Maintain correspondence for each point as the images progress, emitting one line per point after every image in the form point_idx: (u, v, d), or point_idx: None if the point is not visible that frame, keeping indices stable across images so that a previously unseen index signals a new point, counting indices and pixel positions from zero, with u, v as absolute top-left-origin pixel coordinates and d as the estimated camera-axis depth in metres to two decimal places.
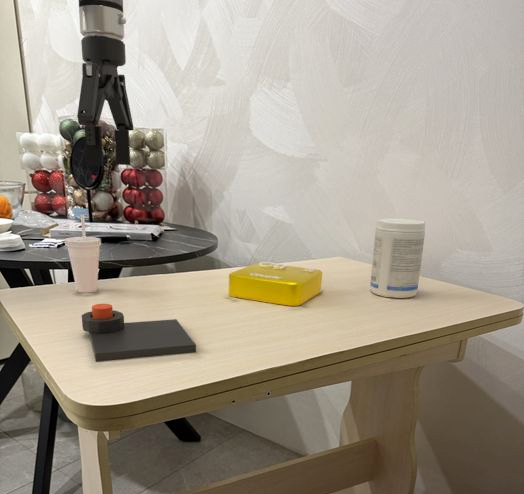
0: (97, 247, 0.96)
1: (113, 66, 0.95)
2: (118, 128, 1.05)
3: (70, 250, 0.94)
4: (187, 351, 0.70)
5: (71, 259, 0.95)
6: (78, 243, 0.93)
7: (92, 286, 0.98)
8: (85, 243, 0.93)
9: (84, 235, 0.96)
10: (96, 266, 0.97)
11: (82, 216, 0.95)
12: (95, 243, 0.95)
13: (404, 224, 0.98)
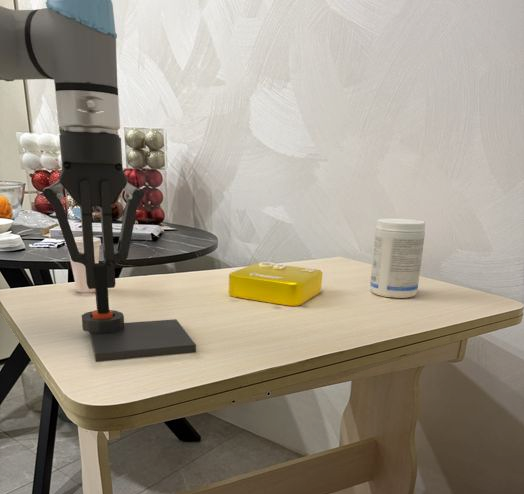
0: (97, 247, 0.96)
1: (104, 166, 0.67)
2: None
3: None
4: (187, 351, 0.70)
5: (71, 259, 0.95)
6: (78, 243, 0.93)
7: None
8: None
9: None
10: None
11: None
12: (95, 243, 0.95)
13: (404, 224, 0.98)
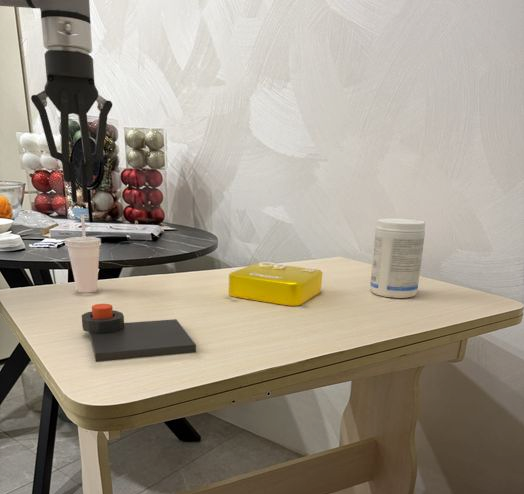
0: (97, 247, 0.96)
1: (80, 80, 0.86)
2: None
3: (70, 250, 0.94)
4: (187, 351, 0.70)
5: (71, 259, 0.95)
6: (78, 243, 0.93)
7: (92, 286, 0.98)
8: (85, 243, 0.93)
9: (84, 235, 0.96)
10: (96, 266, 0.97)
11: (82, 216, 0.95)
12: (95, 243, 0.95)
13: (404, 224, 0.98)
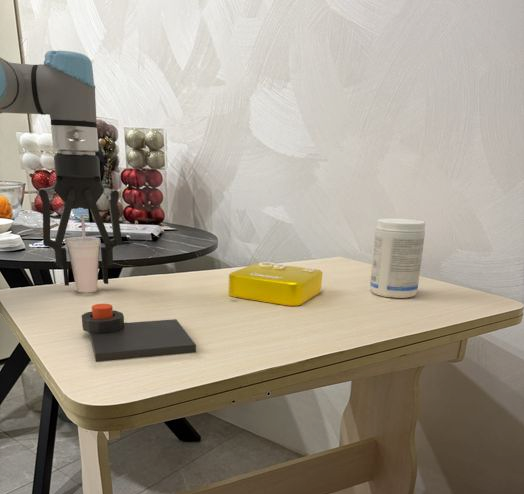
0: (97, 247, 0.96)
1: (87, 178, 0.92)
2: None
3: (70, 250, 0.94)
4: (187, 351, 0.70)
5: (71, 259, 0.95)
6: (78, 243, 0.93)
7: (92, 286, 0.98)
8: (85, 243, 0.93)
9: (84, 235, 0.96)
10: (96, 266, 0.97)
11: (82, 216, 0.95)
12: (95, 243, 0.95)
13: (404, 224, 0.98)
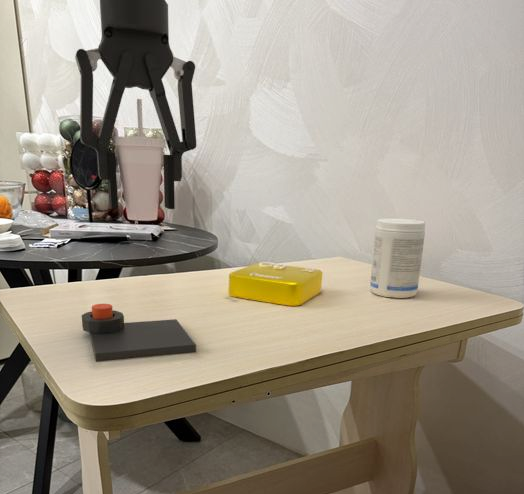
0: (161, 150, 0.64)
1: (149, 37, 0.59)
2: (170, 152, 0.66)
3: (122, 152, 0.62)
4: (187, 351, 0.70)
5: (122, 168, 0.63)
6: (134, 140, 0.61)
7: (152, 211, 0.65)
8: (145, 140, 0.61)
9: (141, 132, 0.64)
10: (158, 180, 0.65)
11: (139, 101, 0.62)
12: (159, 142, 0.62)
13: (404, 224, 0.98)
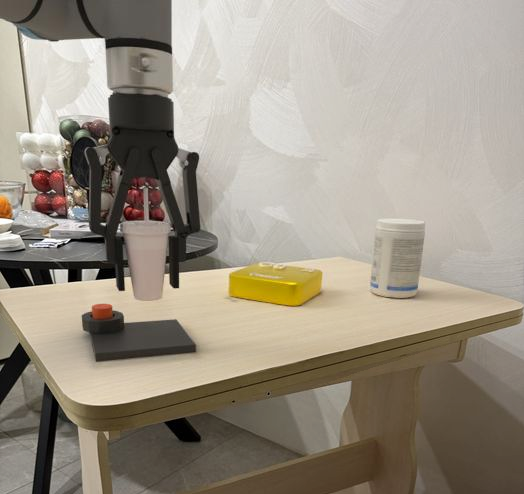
0: (166, 235, 0.66)
1: (155, 133, 0.62)
2: (175, 233, 0.69)
3: (129, 239, 0.65)
4: (187, 351, 0.70)
5: (129, 253, 0.66)
6: (141, 229, 0.63)
7: (158, 292, 0.68)
8: (151, 229, 0.64)
9: (147, 218, 0.66)
10: (163, 263, 0.67)
11: (145, 190, 0.65)
12: (164, 229, 0.65)
13: (404, 224, 0.98)
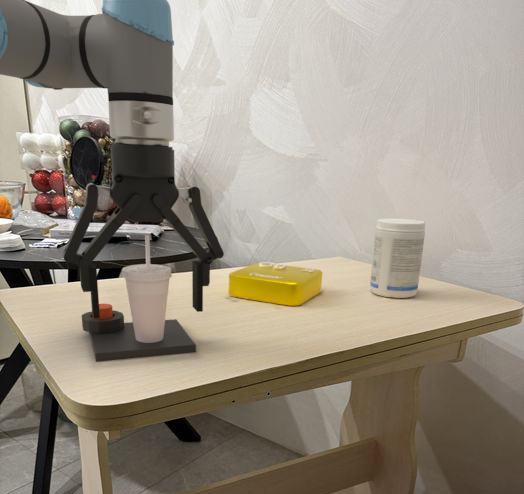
0: (167, 280, 0.68)
1: (157, 179, 0.64)
2: (199, 259, 0.71)
3: (131, 285, 0.67)
4: (187, 351, 0.70)
5: (131, 297, 0.68)
6: (143, 276, 0.65)
7: (159, 333, 0.70)
8: (152, 276, 0.66)
9: (148, 263, 0.68)
10: (164, 306, 0.69)
11: (147, 237, 0.67)
12: (165, 275, 0.67)
13: (404, 224, 0.98)
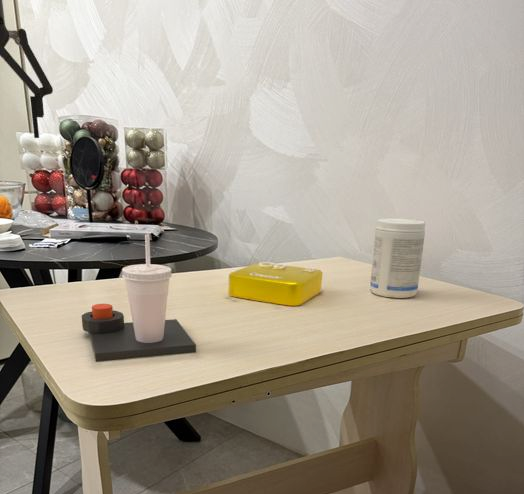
0: (167, 280, 0.68)
1: None
2: None
3: (131, 285, 0.67)
4: (187, 351, 0.70)
5: (131, 297, 0.68)
6: (143, 276, 0.65)
7: (159, 333, 0.70)
8: (152, 276, 0.66)
9: (148, 263, 0.68)
10: (164, 306, 0.69)
11: (147, 237, 0.67)
12: (165, 275, 0.67)
13: (404, 224, 0.98)
